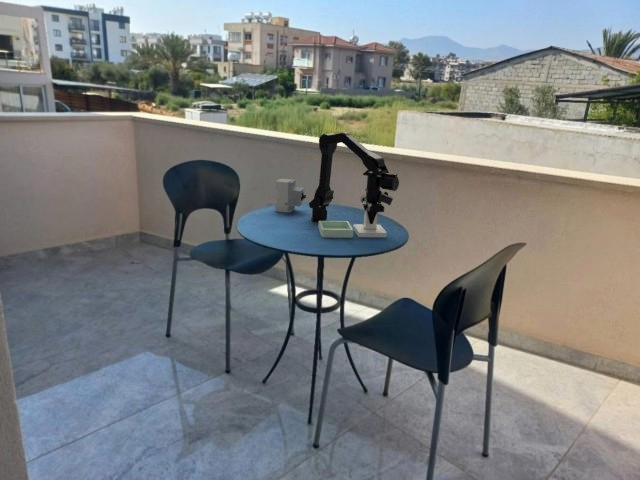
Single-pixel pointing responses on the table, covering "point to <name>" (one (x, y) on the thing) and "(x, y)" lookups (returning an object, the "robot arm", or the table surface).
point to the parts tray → (335, 229)
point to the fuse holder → (369, 231)
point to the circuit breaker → (288, 195)
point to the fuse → (367, 224)
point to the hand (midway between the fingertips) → (370, 222)
